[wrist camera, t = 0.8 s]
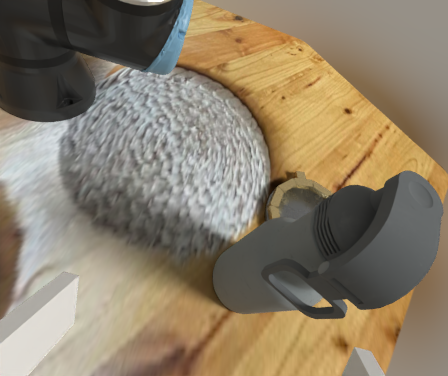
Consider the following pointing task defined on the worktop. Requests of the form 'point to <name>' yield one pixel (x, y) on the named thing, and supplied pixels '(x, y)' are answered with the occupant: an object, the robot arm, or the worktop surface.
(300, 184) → the collar
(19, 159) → the worktop surface
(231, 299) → the water bottle
